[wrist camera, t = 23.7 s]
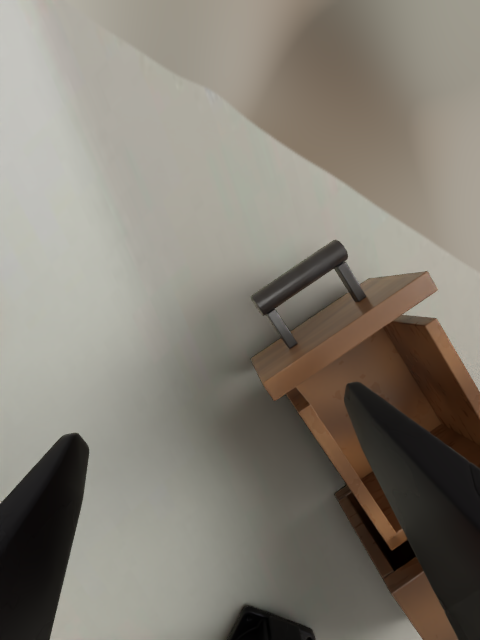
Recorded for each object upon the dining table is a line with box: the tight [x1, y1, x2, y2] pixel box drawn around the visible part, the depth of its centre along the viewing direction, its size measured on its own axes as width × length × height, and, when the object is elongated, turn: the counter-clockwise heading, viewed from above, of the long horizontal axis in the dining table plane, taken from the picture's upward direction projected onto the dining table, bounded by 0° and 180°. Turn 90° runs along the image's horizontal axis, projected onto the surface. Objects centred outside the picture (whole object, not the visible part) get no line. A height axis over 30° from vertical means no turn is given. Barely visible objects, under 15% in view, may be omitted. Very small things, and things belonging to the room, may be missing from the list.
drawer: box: [251, 240, 480, 550], centre depth 18 cm, size 16×10×6 cm, turn 34°
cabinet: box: [334, 485, 458, 640], centre depth 19 cm, size 14×12×8 cm
